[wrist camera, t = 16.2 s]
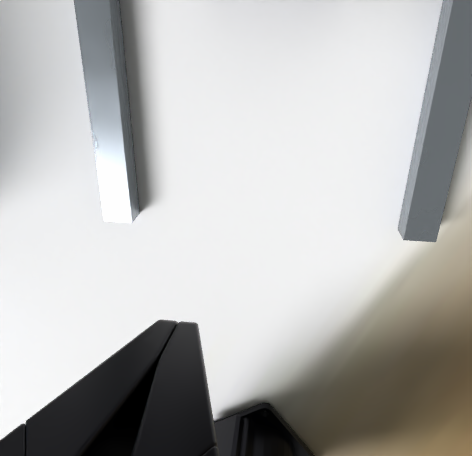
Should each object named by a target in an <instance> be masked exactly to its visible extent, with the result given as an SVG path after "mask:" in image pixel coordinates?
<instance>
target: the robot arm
mask: <svg viewBox="0 0 472 456" xmlns="http://www.w3.org/2000/svg"><path fill="white" fill-rule="evenodd" d="M0 456H314V455H313V453H312V452H311V451H310V450H309V449H308V448H307V447H306V445H305V444H304V443H303V442H302V441H301V440H300V438H299V437H298V436H297V435H296V434H295V433H294V431H293V430H292V429H291V428H290V427H289V426H288V424H287V423H286V422H285V421H284V420H283V419H282V417H281V416H280V415H279V414H278V413H277V412H276V410H275V409H274V408H273V407H272V406H271V405H270V404H267V403H262V404H259V405H257V406H254V407H252V408H249V409H247V410H244V411H242V412H240V413H237V414H235V415H232V416H230V417H227V418H225V419H223V420H220V421H218V422H215V423H214V421H213V415H212V409H211V402H210V396H209V390H208V384H207V378H206V371H205V365H204V359H203V353H202V347H201V340H200V334H199V328H198V324H197V323H194V322H179V323H178V322H176V321H171V320H158V321H157V322H155V323H154V324H153V325H151V326H150V327H149V328H147V329H146V330H145V331H144V332H142V333H141V334H140V335H138V336H137V337H136V338H134V339H133V340H132V341H130V342H129V343H128V344H126V345H125V346H124V347H122V348H121V349H120V350H119V351H117V352H116V353H115V354H113V355H112V356H111V357H109V358H108V359H107V360H105V361H104V362H103V363H101V364H100V365H99V366H97V367H96V368H95V369H94V370H92V371H91V372H90V373H88V374H87V375H86V376H84V377H83V378H82V379H80V380H79V381H78V382H76V383H75V384H74V385H73V386H71V387H70V388H69V389H67V390H66V391H65V392H63V393H62V394H61V395H59V396H58V397H57V398H55V399H54V400H53V401H51V402H50V403H49V404H48V405H46V406H45V407H44V408H42V409H41V410H40V411H38V412H37V413H36V414H34V415H33V416H32V417H30V418H29V419H28V420H27V421H26V425H25V424H21V425H20V426H18V427H17V428H16V429H14V430H13V431H12V432H10V433H9V434H8V435H7V436H5V437H4V438H3V439H1V440H0Z"/></svg>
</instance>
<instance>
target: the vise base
mask: <svg viewBox="0 0 472 456" xmlns="http://www.w3.org/2000/svg"><path fill="white" fill-rule="evenodd" d="M74 5H75V12H76V20H77V27H78V34H79V42H80V49H81V56H82V64H83V71H84V79H85V86H86V93H87V101H88V108H89V115H90V123H91V130H92V137H93V145H94V152H95V159H96V167H97V174H98V181H99V189H100V196H101V203H102V211H103V218H104V221H112V222H128V223H132V222H133V221H134V220H135V218H136V217H137V216H138V215H139V214H140V213H139V202H138V192H137V181H136V171H135V160H134V150H133V139H132V129H131V118H130V108H129V97H128V87H127V76H126V66H125V55H124V45H123V34H122V24H121V13H120V2H119V0H74ZM471 98H472V0H443V4H442V9H441V14H440V19H439V24H438V29H437V34H436V39H435V44H434V49H433V54H432V59H431V64H430V69H429V74H428V79H427V84H426V89H425V94H424V100H423V105H422V110H421V115H420V120H419V125H418V130H417V135H416V140H415V145H414V150H413V155H412V160H411V165H410V170H409V175H408V180H407V185H406V190H405V195H404V200H403V205H402V210H401V215H400V220H399V225H398V231H399V233H400V235H401V236H402V238H403V240H411V241H426V242H436V240H437V236H438V232H439V228H440V224H441V220H442V216H443V211H444V207H445V203H446V199H447V195H448V191H449V187H450V183H451V179H452V175H453V171H454V167H455V163H456V159H457V154H458V150H459V146H460V142H461V138H462V134H463V130H464V126H465V122H466V118H467V114H468V110H469V106H470V102H471Z"/></svg>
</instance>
